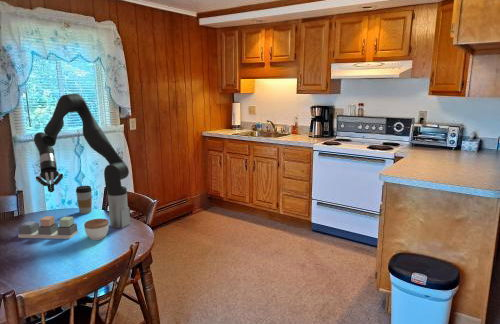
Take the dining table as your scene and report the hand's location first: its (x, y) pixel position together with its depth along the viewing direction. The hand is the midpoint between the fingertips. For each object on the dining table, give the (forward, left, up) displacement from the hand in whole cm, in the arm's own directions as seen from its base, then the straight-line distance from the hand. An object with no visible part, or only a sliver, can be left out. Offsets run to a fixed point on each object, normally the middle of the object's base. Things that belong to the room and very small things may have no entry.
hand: (51, 191), depth 180 cm
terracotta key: (-7, +9, -13) cm, 18 cm away
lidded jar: (-31, +2, -19) cm, 36 cm away
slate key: (+2, +12, -16) cm, 21 cm away
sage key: (-16, +6, -13) cm, 22 cm away
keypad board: (-7, +9, -19) cm, 22 cm away
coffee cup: (+3, -23, -19) cm, 30 cm away
